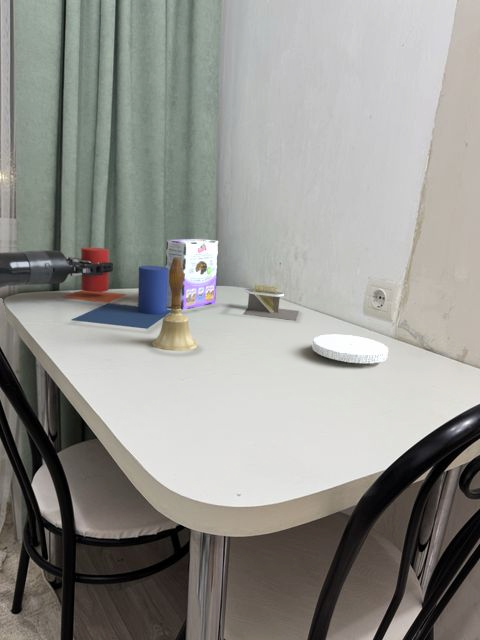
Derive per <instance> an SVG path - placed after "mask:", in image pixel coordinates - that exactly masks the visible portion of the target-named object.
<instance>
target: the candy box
mask: <svg viewBox="0 0 480 640" xmlns="http://www.w3.org/2000/svg"><path fill="white" fill-rule="evenodd" d="M165 248H166V251H165V267H166V268H168V285H167V308H170V309H171V305H172V304H171V300H172V292H171V288H170V283H169V271H170V268H171V265H172V262H173V258H180V259H181V264H182V267H183V271H184V282H183V287H182V290H181V294H180V303H181V304H180V305H181V308H180V309H181V311H186V310H189V309H190V310H191V309H194V308H195V309H196V308H199V307H200V308H201V307H204V306H210V305H214V304H216V296H217V295H216V294H217V275H218V259H219V255H218V254H219V240H216V239H215V240H213V239H207V238H183V239H167V240H166V247H165Z"/></svg>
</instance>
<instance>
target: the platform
mask: <svg viewBox="0 0 480 640" xmlns="http://www.w3.org/2000/svg"><path fill="white" fill-rule="evenodd" d="M253 287H254V288H245V289H244V292H245V293H248V300H247V301H248V302H247V308H245V311H244V312H243V313H242V315H247V316H253V317H263V318H271V319H272V318H273V319H280V320H289V321H297V318H298V316H299V313H300V310H296V309H295V310H294V309H287V308H286V309H285V308H280V298H281V297H284V296H285V292H280V291H278V286H273V285H266V284H265V285H264V284H258V283H257V284H256V283H255V284H254V286H253Z"/></svg>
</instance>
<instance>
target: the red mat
mask: <svg viewBox="0 0 480 640" xmlns="http://www.w3.org/2000/svg"><path fill="white" fill-rule="evenodd" d="M127 295H128V294H127V293H118V292H117V293H116V292H109V291H108V292H107V291H103V292H92V291H85V290H82V289H81V290H78V291H75V292H72V293H70V294H66V295H64V296H61V297H60V298H62V299H72V300H80V301H88V302H97V303H105V304H107V303H113V302H114V301H116V300H119V299H121V298H123V297H125V296H127Z"/></svg>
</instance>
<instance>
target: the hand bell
mask: <svg viewBox="0 0 480 640" xmlns="http://www.w3.org/2000/svg"><path fill="white" fill-rule="evenodd" d="M183 282H184V271H183V267H182V264H181V259H180V258H173V262H172V265H171V268H170V271H169V283H170V288H171V292H172V300H171V304H172V305H171V308H170V310H171V313H169V314H168V315H166V316H165V317H164V318H162V326H161V329H160V331H159V334H158V335H157V337H156V338H155V339H153V341H152V343H151V344H152V346H153V347H155V348H157V349H160V350H163V351H164V350H165V351H171V352H174V351H175V352H185V351H191V350H193V351H195V350H197V349H198V347H199V345H198V343H197V341H196V340H195V339H194V338H193V336H192V335H191V331H190V326H189V325H190V324H189V318H188V317H187V316H186V315H184V314H183V313H182V310H181V309H180V308H181V305H180V304H181V303H180V294H181V290H182V287H183Z"/></svg>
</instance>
